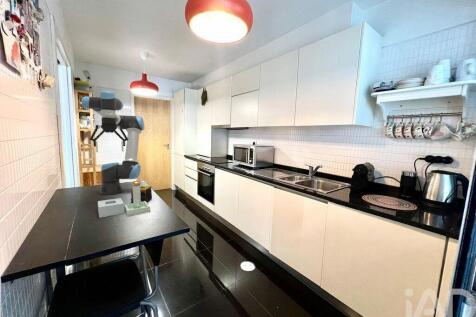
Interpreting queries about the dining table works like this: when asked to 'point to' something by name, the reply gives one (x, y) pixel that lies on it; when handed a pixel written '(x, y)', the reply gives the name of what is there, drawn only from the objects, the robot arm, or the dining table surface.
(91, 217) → the dining table surface
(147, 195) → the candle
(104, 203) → the block
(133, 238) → the dining table surface
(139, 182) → the pin
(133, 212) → the tray
